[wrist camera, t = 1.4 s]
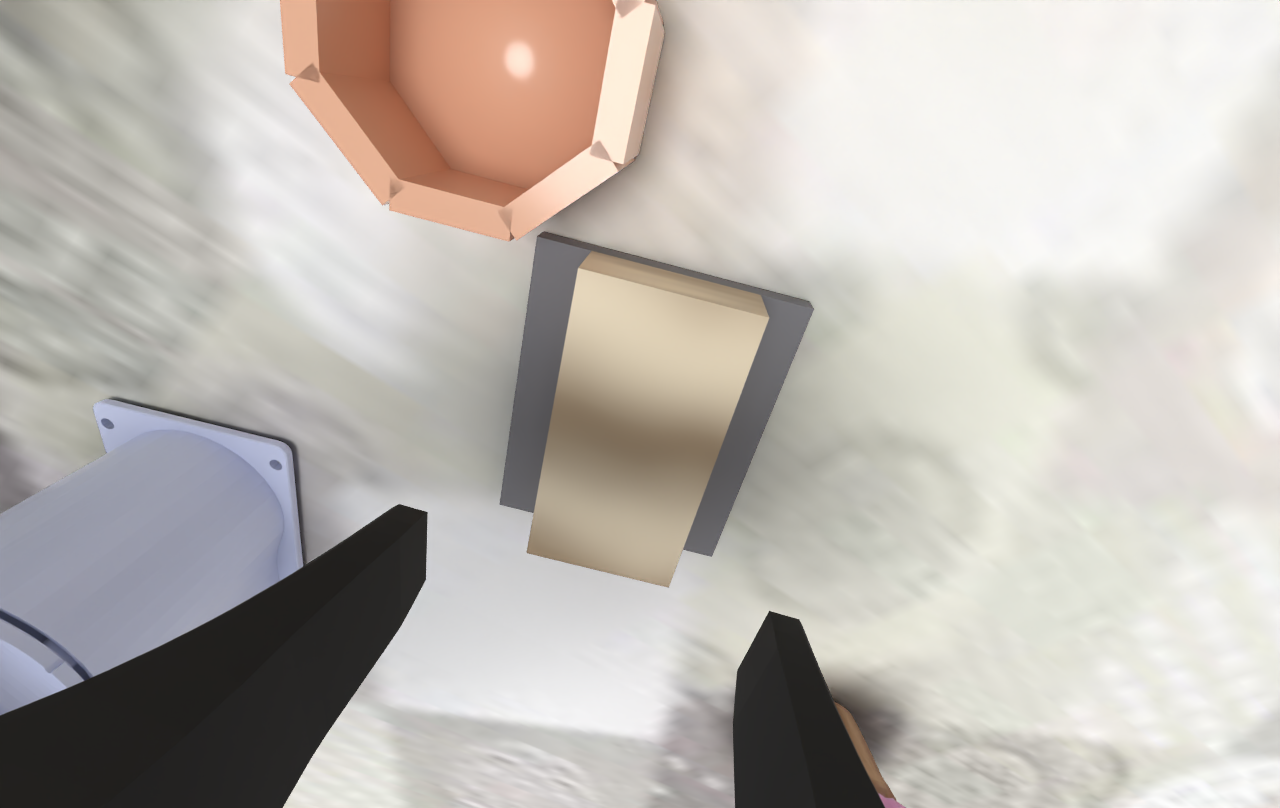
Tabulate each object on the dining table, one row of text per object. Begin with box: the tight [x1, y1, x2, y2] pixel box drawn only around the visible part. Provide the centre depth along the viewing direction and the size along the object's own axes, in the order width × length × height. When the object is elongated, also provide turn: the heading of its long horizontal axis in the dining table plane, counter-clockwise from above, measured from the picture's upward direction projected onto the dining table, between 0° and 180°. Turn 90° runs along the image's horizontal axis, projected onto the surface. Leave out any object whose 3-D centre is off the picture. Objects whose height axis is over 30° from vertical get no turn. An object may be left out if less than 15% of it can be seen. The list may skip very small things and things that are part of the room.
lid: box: [527, 251, 769, 587], centre depth 18 cm, size 11×6×2 cm, turn 167°
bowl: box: [280, 0, 665, 241], centre depth 13 cm, size 8×8×4 cm
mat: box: [500, 232, 814, 557], centre depth 20 cm, size 11×9×1 cm
